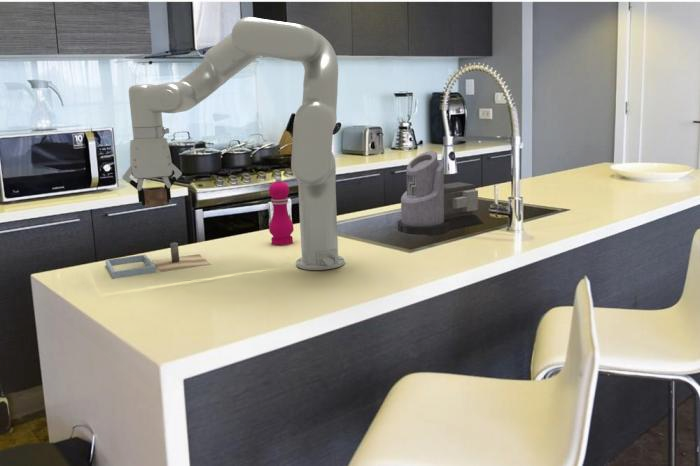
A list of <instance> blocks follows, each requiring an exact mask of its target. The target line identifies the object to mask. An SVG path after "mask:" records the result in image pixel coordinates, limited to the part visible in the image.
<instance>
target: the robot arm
mask: <svg viewBox="0 0 700 466" xmlns="http://www.w3.org/2000/svg"><path fill="white" fill-rule="evenodd" d="M203 56H204V57H203V60H202V61H201V63H200V64H199V65H198V66H197V67H196V68H195V69H194V70H192V71H191V72H190V73H188V74H186V76H184V77H183V78H182V79H181V80H179V81H175V82H174V81H173V82H165V83H160V84H133V85H131V86H130V87H129V89H128V98H129V99H128V100H129V107H130V108H129V109H130V118H131V119H130V120H131V128H132V129H131V130H132V138H133V139H131V140H130V143H129V162H130V166H129V167H128V168H127V170H126V171H125V172H124V174H122V180H123V181H124V182H127V183H128V184H129V185H131V186H132V187H133V188H135V189H136V190H137V198H138V203H141V205H142V206H144V207H146V206H145V198H144V190H143V188H144V187H143V185H144V180H146V179H147V180H149V179H157V178H159V179H160V178H161V179H162V180H163V183H164V185H163V187H164V188H165V189H166V192H167V203H168V204H170V200H171V199H172V195H171V188H172V186H173V185H174V183H175V182H176V181H177V180H178V179H179V178H180V177H181V176H183V175H182V174H183V173H182V171H181V170H180V169H179V168H178V167H177V166H176V165H175V164H174V163H173V162H172V161H173V160H172V156H171V151H170V150H171V149H170V146H169V142H168V139H167V137H165V135H167V134H170V129H169V128H168V127H167V128H166V127H164V126H163V115H162V114H177V113H182V112H187V111H191V109H193V108H195V107H196V106H197V105H199V104H200V103H201V102H203V101H205V99H207V98H208V97H209V96H211V95H212V94H214V92H216V91H217V90H218V89H219V88H221V87H222V86H223V85H225V84H226V83H227V82H228V81H229V80H230V79H231V78H233V77H234V76H236V74H238V73H239V72H240V71H242V70H243V69H245V68H246V67H248V66H249V65H250V64H251V63H253V62H255V61H256V60H257V59H259V58H260V57H265V58H270V59H271V58H272V59H279V60H284V61H291V62H299V63H302V66H303V69H304V75H303V83H302V85H303V87H302V88H303V90H302V101H301V102H302V103H301V105H300V106H299V107H298V109H297V110H296V112H295V116H294V119H293V128H292V129H293V130H292V144H291V146H292V147H291V158H290V159H291V163H290V164H291V165H290V166H291V167H290V168H291V172H292V174H293V176H294V178H295V179H296V180H297V181H298V207H299V208H298V209H299V226H300V227H299V228H300V229H299V230H300V244H301V245H300V247H301V249H300V250H301V257H299V258H298V259H296V261H295V265H296V267H298V268H299V269H301V270H306V271H307V270H309V271H324V270H331V269H332V270H333V269H337V268H340V267H342V266H343V265H344V264H345V257H343V256H341V255H339V241H338V240H339V239H338V221H337V220H338V219H337V218H338V217H337V216H338V215H337V214H338V213H337V194H336V193H337V188H336V187H337V186H336V175H337V173H336V172H337V171H336V170H337V168H336V166H337V165H336V158H335V155H334V153H333V151H332V149H333V136H334V130H335V128H336V125H337V107H338V106H337V105H338V86H339V85H338V84H339V63H338V57H337V54H336V52H335V50H334V48H333V46H332V45H331V43H330V42H329V40H327V38H325V37H324V36H323V35H322V34H320V33H319V32H318V31H316V30H314V29H313V28H311V27H309V26H306V25H304V24H299V23H294V22H285V21H280V20H279V21H278V20H272V19H266V18H265V19H264V18H260V17H259V18H258V17H254V16H245V17H243V18H240V19H238V20H237V21H236V22H235V24H234V25H233V27H232V30H231V33H230V34H228V35H227V36H225V37H224V38H223V39H221V40H220V41H218V43H216V44H214V45H213V46H211V47H210V48H209V49H208V50H207V51H206V52H205V53H204V55H203ZM173 172H174V174H173ZM131 176H132V177H133V178H135V179H136V181H135V180H134V179H132V178H131ZM170 176H171V177H170ZM169 177H170V178H169Z"/></svg>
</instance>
